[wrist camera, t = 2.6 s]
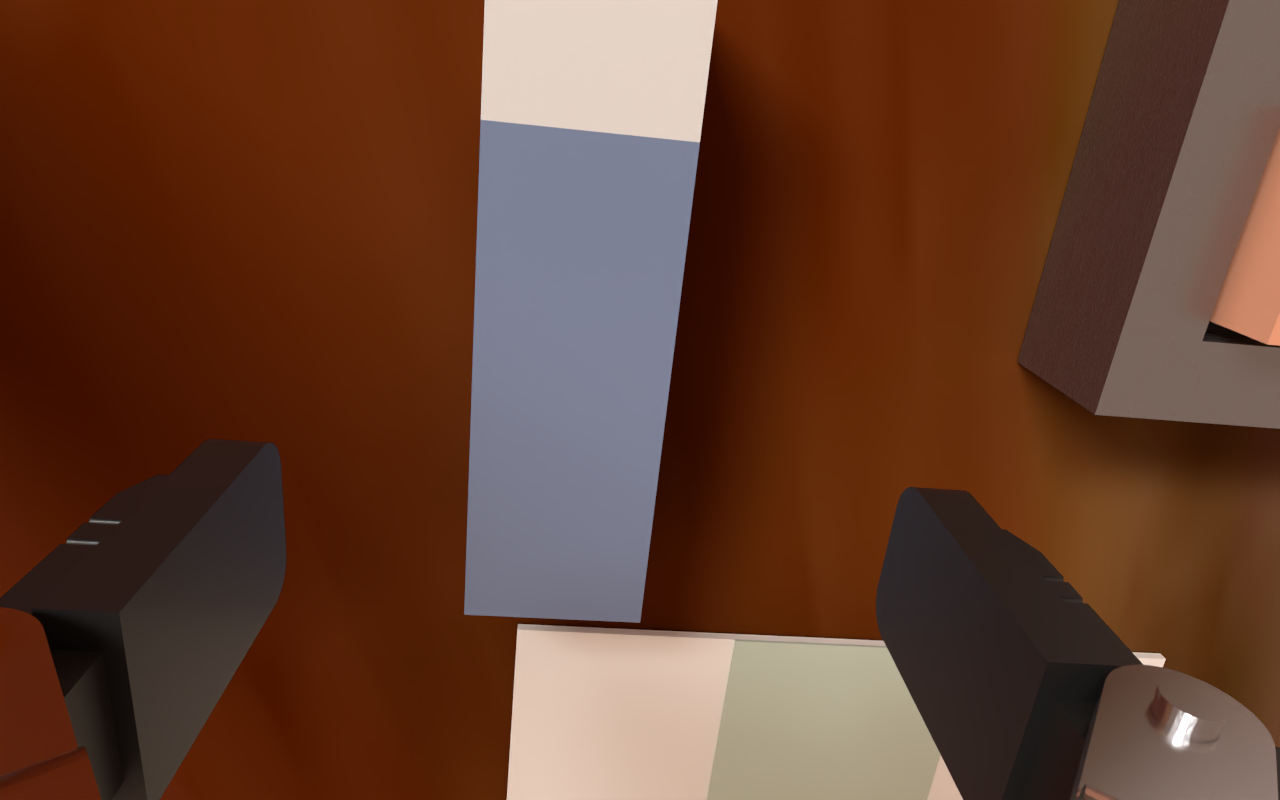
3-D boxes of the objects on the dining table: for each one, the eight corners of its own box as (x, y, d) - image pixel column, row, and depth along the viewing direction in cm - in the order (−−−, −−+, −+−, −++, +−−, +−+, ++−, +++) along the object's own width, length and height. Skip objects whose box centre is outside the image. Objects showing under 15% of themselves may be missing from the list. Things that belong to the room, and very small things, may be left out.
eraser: (483, 524, 26) (464, 614, 21) (505, -23, 20) (486, -46, 16) (630, 533, 26) (640, 623, 22) (691, -1, 21) (719, -17, 16)
